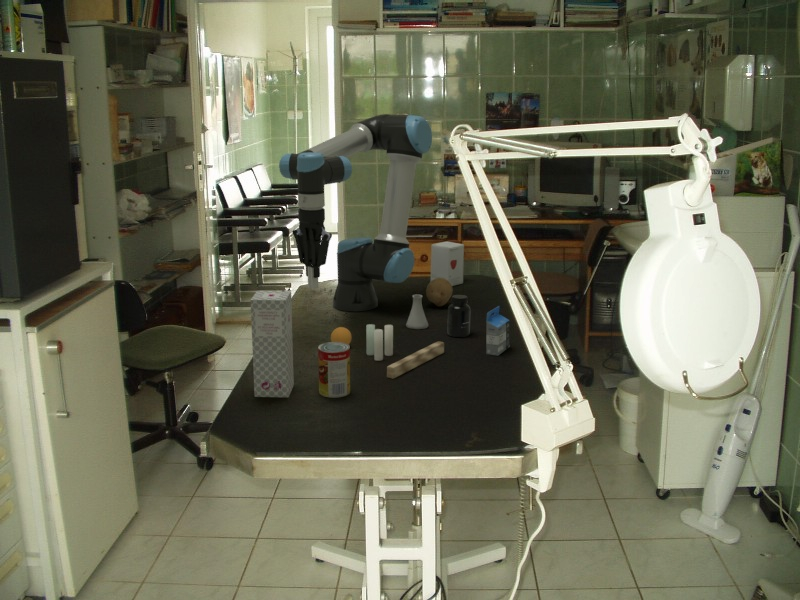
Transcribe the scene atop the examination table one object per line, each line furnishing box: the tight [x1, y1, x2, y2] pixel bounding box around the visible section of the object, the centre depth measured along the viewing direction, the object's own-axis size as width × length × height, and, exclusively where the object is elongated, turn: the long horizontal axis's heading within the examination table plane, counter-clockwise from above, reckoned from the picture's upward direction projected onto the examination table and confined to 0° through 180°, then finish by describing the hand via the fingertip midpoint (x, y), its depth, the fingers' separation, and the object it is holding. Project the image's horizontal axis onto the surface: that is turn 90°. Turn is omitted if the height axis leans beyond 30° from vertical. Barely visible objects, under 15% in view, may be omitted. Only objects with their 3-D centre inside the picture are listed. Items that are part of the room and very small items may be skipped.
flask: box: [405, 294, 429, 330], centre depth 275 cm, size 7×7×10 cm
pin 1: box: [373, 328, 384, 362], centre depth 245 cm, size 2×2×8 cm
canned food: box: [317, 341, 351, 399], centre depth 221 cm, size 8×8×12 cm
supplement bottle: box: [447, 294, 471, 338], centre depth 267 cm, size 7×7×12 cm
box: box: [250, 290, 295, 398], centre depth 219 cm, size 8×8×25 cm
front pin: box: [365, 323, 376, 356], centre depth 249 cm, size 2×2×8 cm
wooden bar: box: [386, 340, 445, 380], centre depth 242 cm, size 26×2×3 cm, turn 146°
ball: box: [330, 326, 352, 346], centre depth 255 cm, size 6×6×6 cm
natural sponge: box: [425, 278, 454, 308], centre depth 297 cm, size 9×9×10 cm
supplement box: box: [430, 241, 465, 287], centre depth 327 cm, size 9×9×15 cm
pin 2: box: [384, 324, 394, 357], centre depth 249 cm, size 2×2×8 cm
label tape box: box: [485, 305, 511, 357], centre depth 252 cm, size 9×4×12 cm, turn 151°
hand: (313, 287), depth 257 cm, fingers closed
